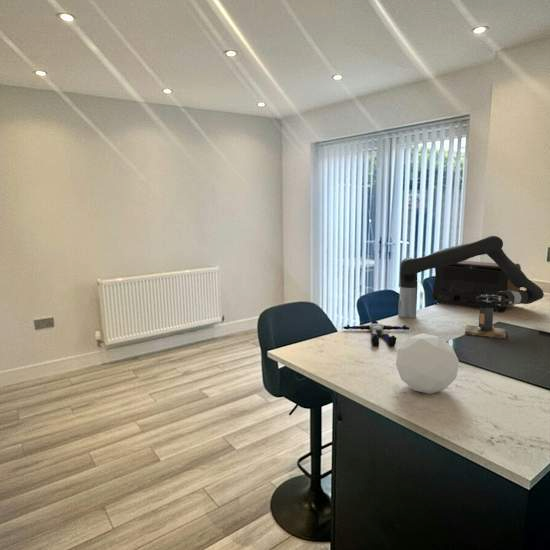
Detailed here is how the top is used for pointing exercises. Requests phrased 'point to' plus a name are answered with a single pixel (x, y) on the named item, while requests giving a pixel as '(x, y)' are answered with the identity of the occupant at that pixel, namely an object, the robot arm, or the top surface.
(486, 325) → the dark grey tall block
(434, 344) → the geometric sphere
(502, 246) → the robot arm
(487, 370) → the top surface
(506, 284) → the radio
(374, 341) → the toy
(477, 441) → the top surface
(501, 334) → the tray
